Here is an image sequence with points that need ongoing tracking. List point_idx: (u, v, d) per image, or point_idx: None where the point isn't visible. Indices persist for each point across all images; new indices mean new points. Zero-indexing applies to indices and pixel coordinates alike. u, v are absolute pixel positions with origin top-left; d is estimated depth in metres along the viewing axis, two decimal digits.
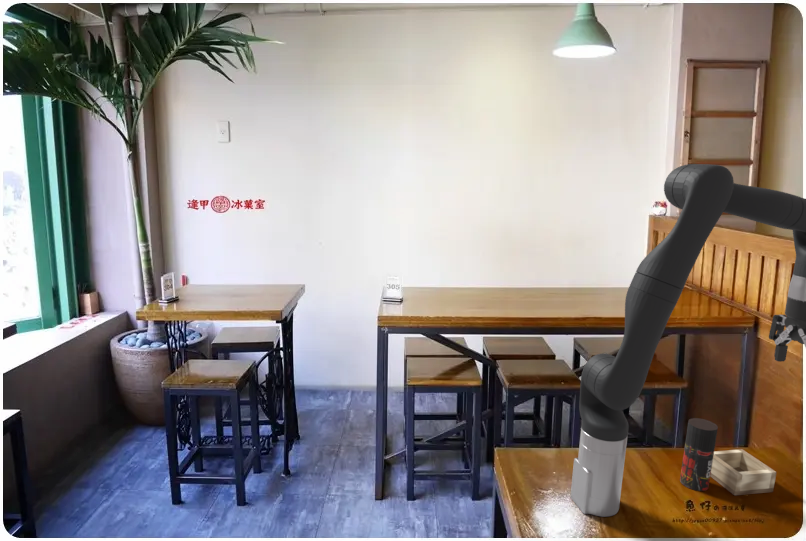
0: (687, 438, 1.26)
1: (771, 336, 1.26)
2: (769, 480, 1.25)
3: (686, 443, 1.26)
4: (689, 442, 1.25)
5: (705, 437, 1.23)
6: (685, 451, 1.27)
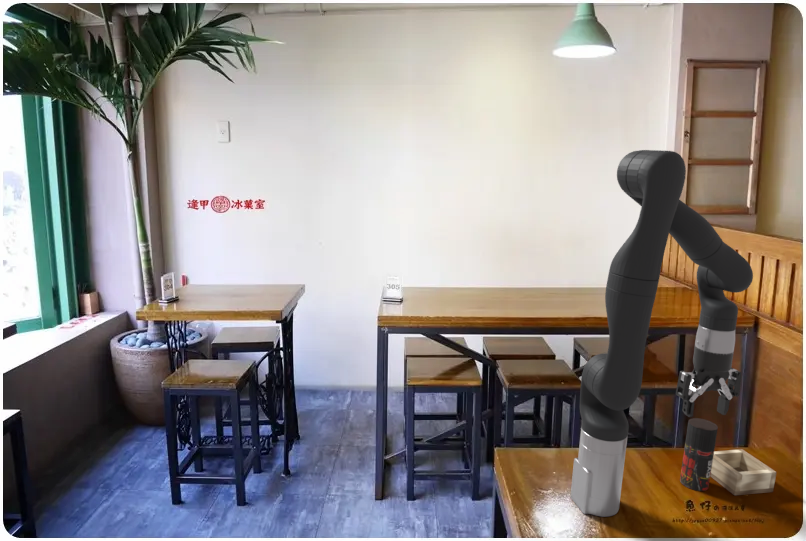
0: (687, 438, 1.26)
1: (686, 396, 1.21)
2: (769, 480, 1.25)
3: (686, 443, 1.26)
4: (689, 442, 1.25)
5: (705, 437, 1.23)
6: (685, 451, 1.27)
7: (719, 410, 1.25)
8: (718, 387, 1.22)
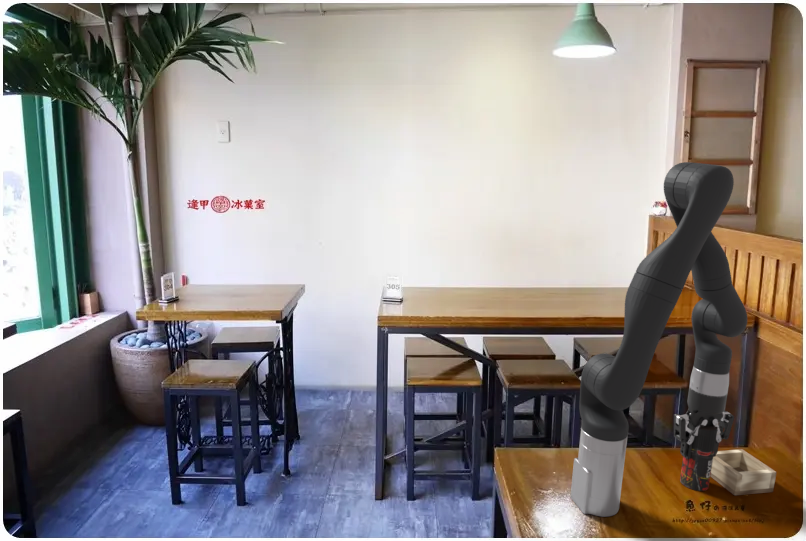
0: None
1: (684, 439, 1.23)
2: (769, 480, 1.25)
3: None
4: None
5: (705, 437, 1.23)
6: None
7: None
8: None
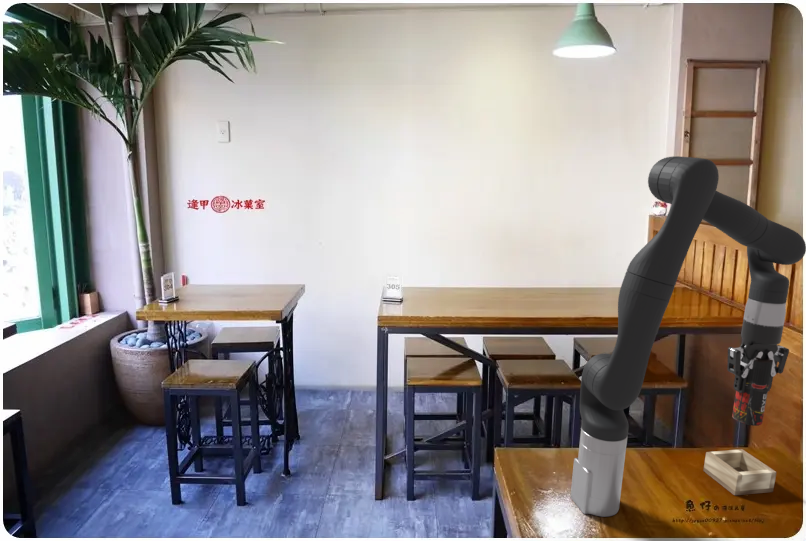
0: None
1: (738, 372, 1.22)
2: (769, 480, 1.25)
3: None
4: None
5: (760, 370, 1.21)
6: None
7: None
8: None
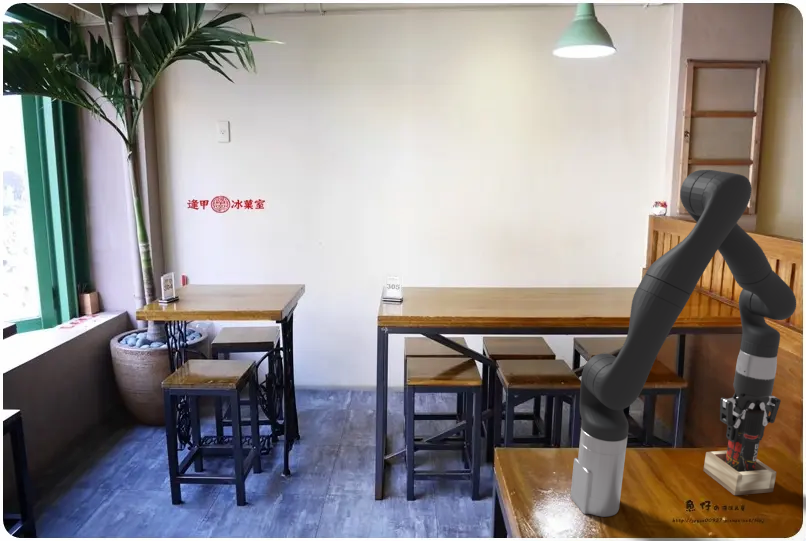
0: None
1: (731, 422, 1.24)
2: (769, 480, 1.25)
3: None
4: None
5: (752, 421, 1.23)
6: None
7: None
8: None
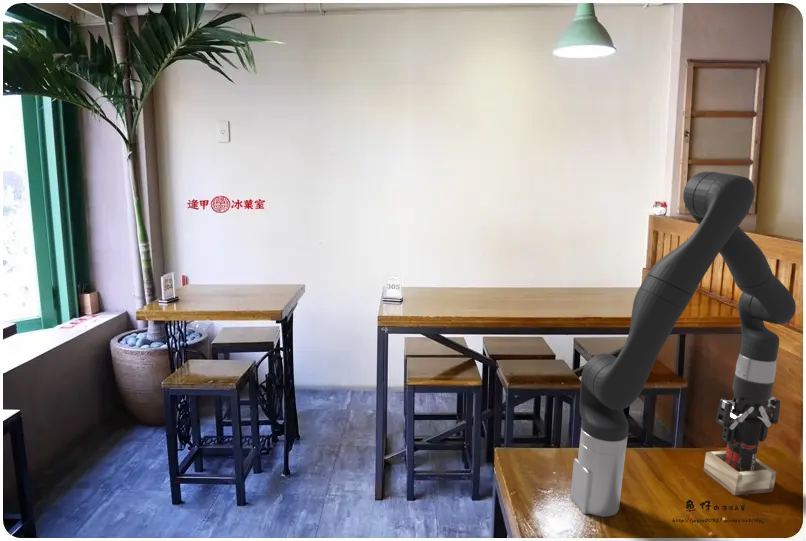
0: None
1: (726, 424, 1.24)
2: (769, 480, 1.25)
3: None
4: None
5: (749, 431, 1.24)
6: (729, 445, 1.28)
7: None
8: (757, 415, 1.25)
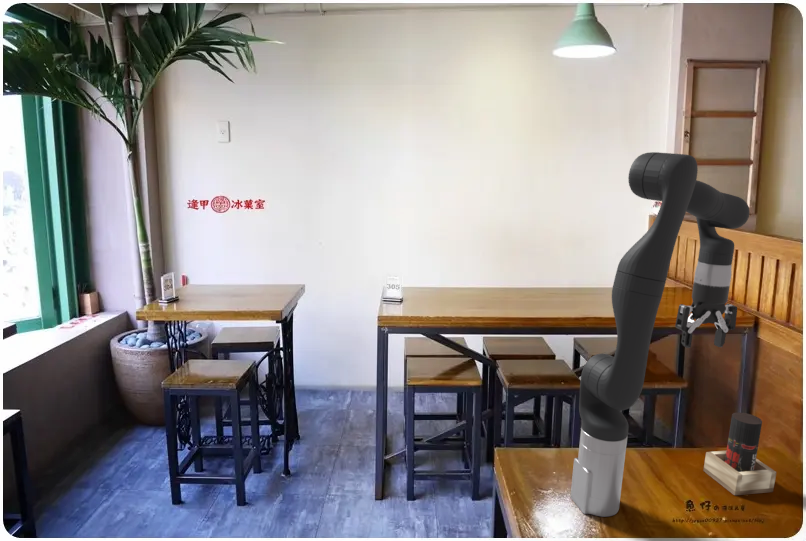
0: (731, 432, 1.27)
1: (684, 327, 1.31)
2: (769, 480, 1.25)
3: (730, 437, 1.28)
4: (733, 436, 1.26)
5: (750, 431, 1.24)
6: (729, 445, 1.28)
7: (716, 343, 1.35)
8: (715, 320, 1.32)
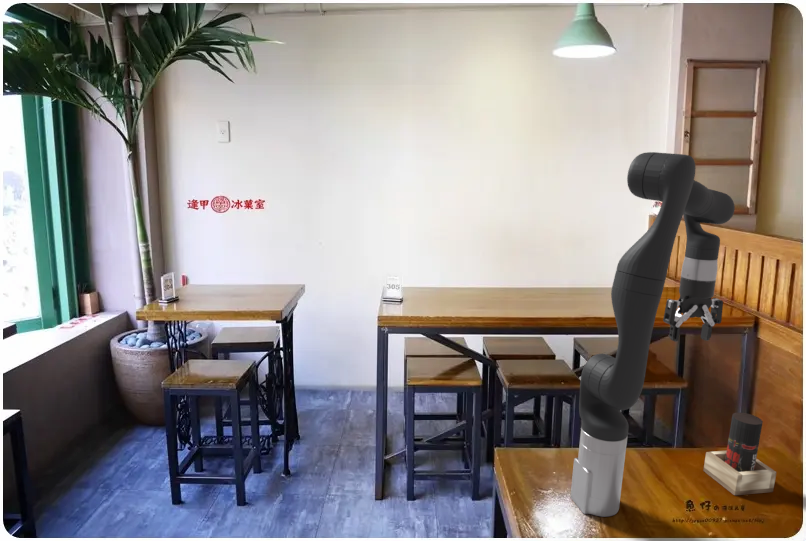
0: (731, 432, 1.27)
1: (672, 322, 1.33)
2: (769, 480, 1.25)
3: (730, 437, 1.28)
4: (733, 436, 1.26)
5: (750, 431, 1.24)
6: (729, 445, 1.28)
7: (703, 337, 1.37)
8: (702, 314, 1.34)
